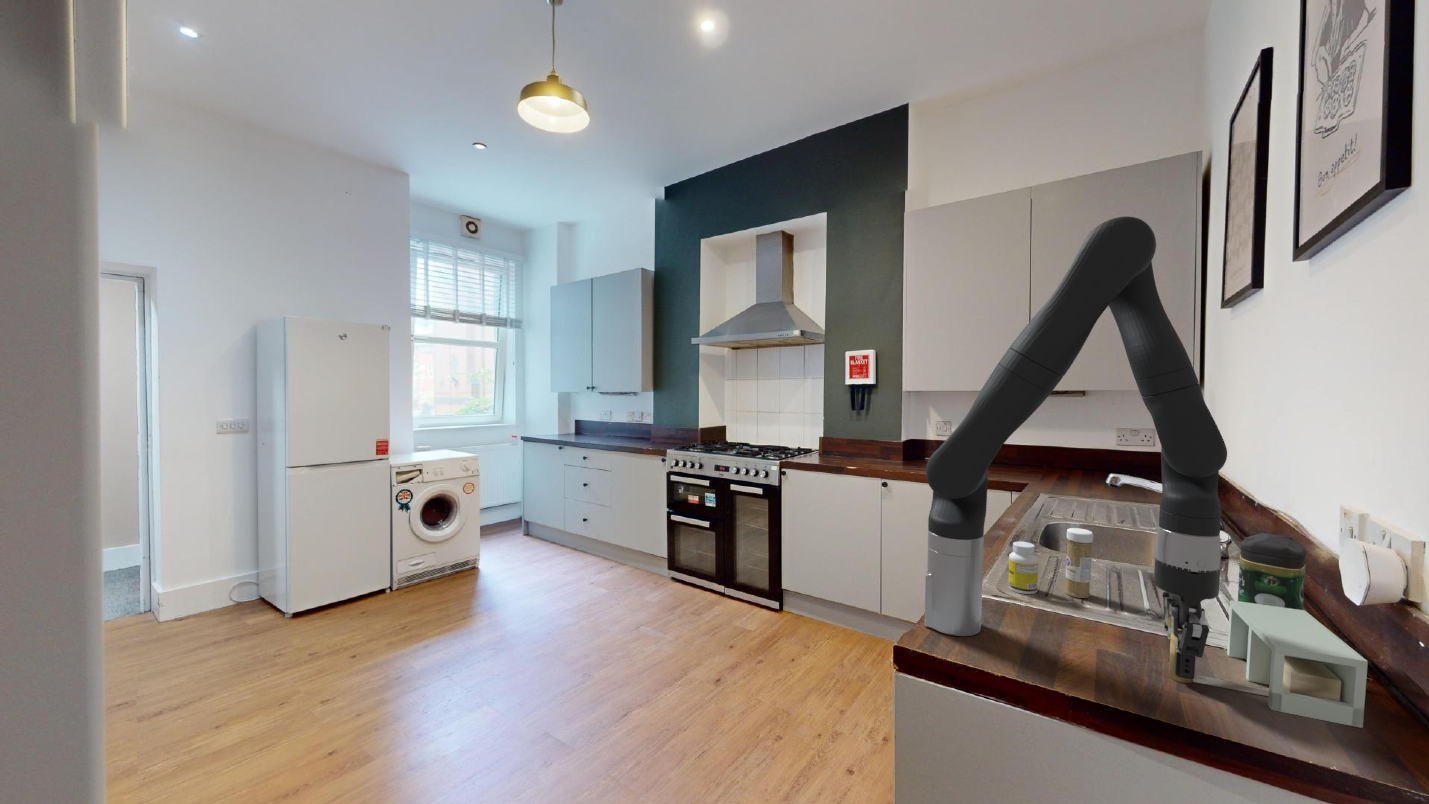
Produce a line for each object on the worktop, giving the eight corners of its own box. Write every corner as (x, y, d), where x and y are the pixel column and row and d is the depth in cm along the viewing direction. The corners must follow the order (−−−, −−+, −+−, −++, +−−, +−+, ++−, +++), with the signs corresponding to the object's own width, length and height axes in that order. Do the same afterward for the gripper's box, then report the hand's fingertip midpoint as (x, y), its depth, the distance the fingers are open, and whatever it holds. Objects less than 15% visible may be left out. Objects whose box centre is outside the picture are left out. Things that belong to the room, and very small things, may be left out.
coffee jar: (1239, 628, 103) (1245, 526, 102) (1302, 644, 97) (1309, 536, 96) (1230, 646, 97) (1237, 537, 95) (1297, 664, 91) (1305, 549, 89)
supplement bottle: (1009, 583, 124) (1010, 538, 124) (1037, 588, 122) (1039, 542, 121) (1007, 591, 120) (1008, 545, 119) (1036, 597, 117) (1038, 549, 116)
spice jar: (1059, 590, 120) (1061, 527, 119) (1079, 589, 121) (1082, 526, 120) (1075, 599, 116) (1077, 534, 115) (1096, 598, 116) (1098, 533, 115)
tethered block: (1173, 684, 85) (1176, 635, 85) (1164, 668, 90) (1167, 621, 89) (1338, 716, 77) (1342, 662, 77) (1319, 697, 82) (1323, 646, 81)
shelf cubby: (1271, 709, 79) (1275, 646, 78) (1226, 653, 94) (1230, 600, 93) (1362, 728, 75) (1367, 661, 74) (1300, 666, 90) (1304, 610, 89)
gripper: (1145, 543, 93) (1140, 645, 95) (1168, 571, 81) (1161, 689, 82) (1203, 549, 90) (1197, 656, 91) (1237, 579, 78) (1229, 702, 79)
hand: (1180, 671), depth 87 cm, fingers closed on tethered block, 2 cm apart
